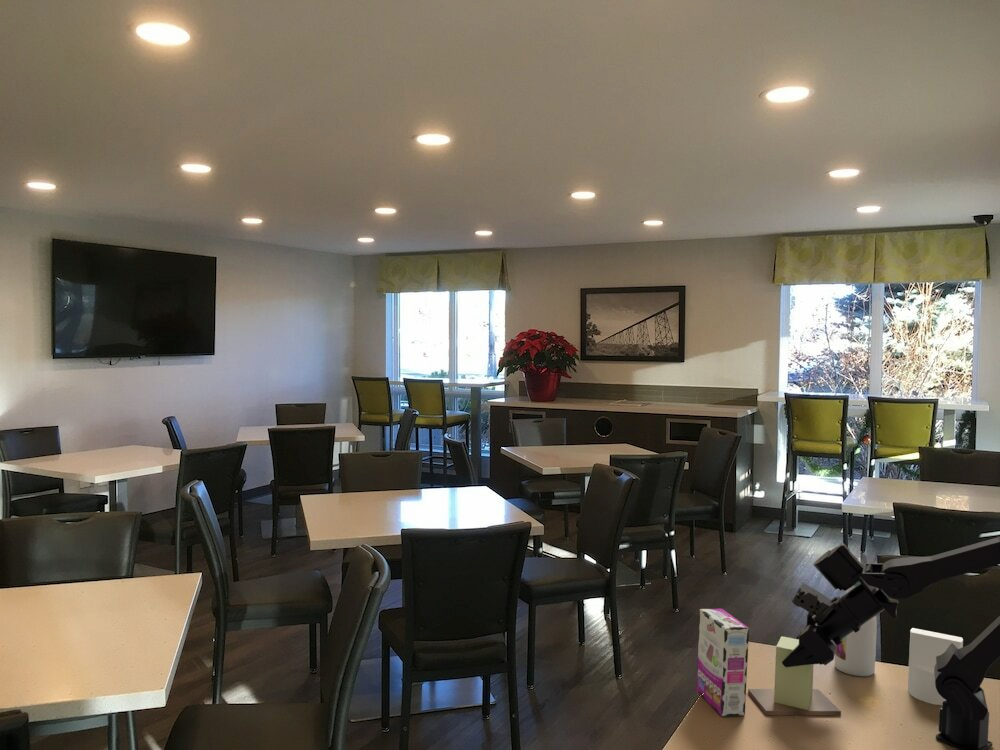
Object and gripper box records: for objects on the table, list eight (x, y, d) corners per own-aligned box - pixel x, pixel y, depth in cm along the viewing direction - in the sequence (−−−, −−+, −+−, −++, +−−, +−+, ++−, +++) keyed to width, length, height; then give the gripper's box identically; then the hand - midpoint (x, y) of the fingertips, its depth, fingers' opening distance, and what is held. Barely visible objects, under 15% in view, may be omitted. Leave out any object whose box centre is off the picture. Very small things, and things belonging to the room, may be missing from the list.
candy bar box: (747, 716, 142) (750, 627, 141) (721, 718, 141) (725, 628, 140) (719, 689, 153) (722, 606, 152) (695, 690, 152) (698, 607, 151)
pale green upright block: (812, 697, 148) (814, 642, 148) (807, 710, 143) (810, 653, 142) (779, 689, 151) (781, 636, 151) (773, 702, 146) (776, 646, 145)
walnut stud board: (818, 693, 152) (819, 674, 152) (840, 715, 143) (841, 695, 143) (748, 692, 151) (748, 673, 151) (766, 715, 142) (766, 694, 142)
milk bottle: (877, 668, 165) (881, 575, 164) (871, 680, 158) (875, 583, 157) (838, 659, 169) (842, 568, 168) (830, 671, 163) (835, 576, 162)
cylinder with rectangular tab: (961, 693, 154) (964, 633, 153) (958, 710, 146) (961, 647, 146) (910, 681, 159) (912, 623, 158) (905, 697, 151) (907, 636, 151)
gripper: (826, 561, 152) (765, 607, 158) (815, 586, 136) (748, 636, 141) (869, 608, 149) (805, 653, 155) (863, 640, 132) (792, 689, 138)
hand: (787, 656), depth 147 cm, fingers open, 9 cm apart
